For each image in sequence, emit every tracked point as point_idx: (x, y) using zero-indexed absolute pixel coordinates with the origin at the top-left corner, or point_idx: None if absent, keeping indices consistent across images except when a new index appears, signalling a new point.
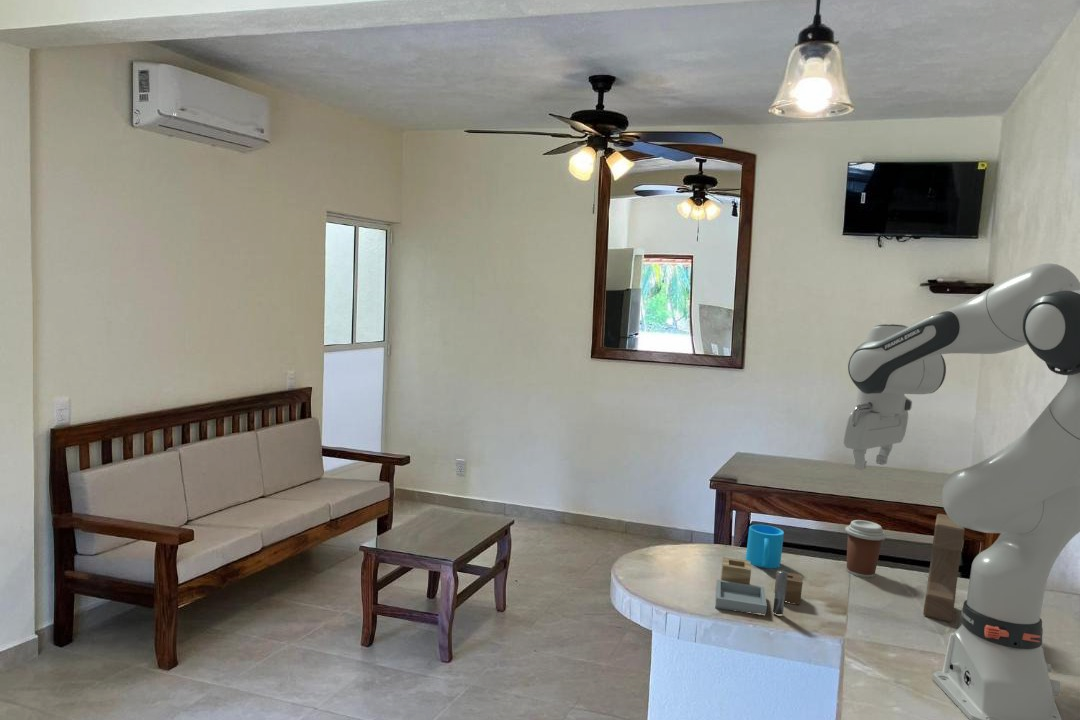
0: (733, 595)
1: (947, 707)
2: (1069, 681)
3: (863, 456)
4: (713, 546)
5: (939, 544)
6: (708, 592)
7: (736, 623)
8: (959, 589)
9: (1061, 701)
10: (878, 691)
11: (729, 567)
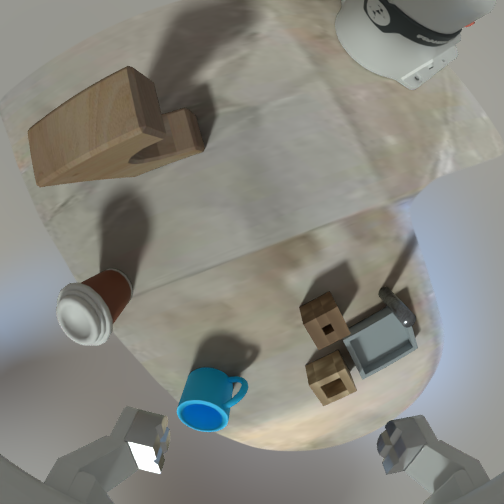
0: (371, 350)
1: (451, 75)
2: None
3: (463, 457)
4: None
5: (161, 122)
6: None
7: (435, 306)
8: None
9: None
10: (473, 134)
11: (353, 385)
